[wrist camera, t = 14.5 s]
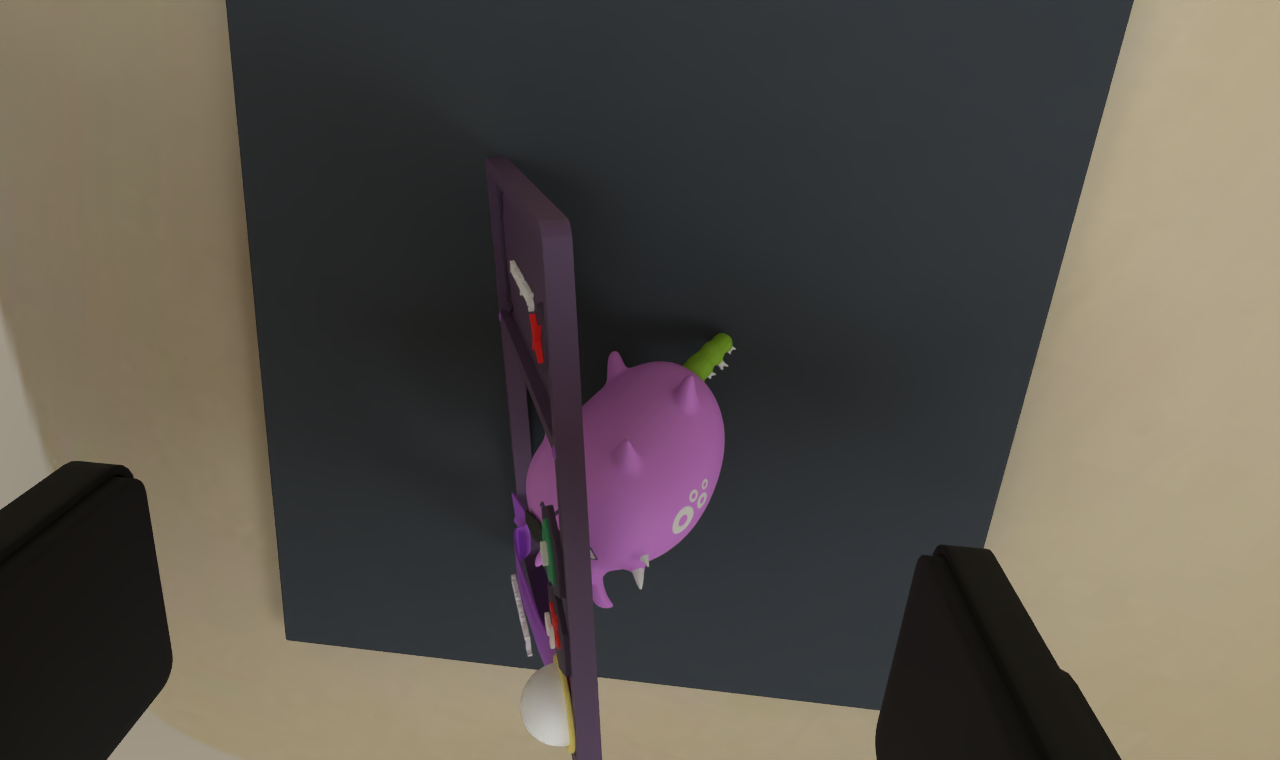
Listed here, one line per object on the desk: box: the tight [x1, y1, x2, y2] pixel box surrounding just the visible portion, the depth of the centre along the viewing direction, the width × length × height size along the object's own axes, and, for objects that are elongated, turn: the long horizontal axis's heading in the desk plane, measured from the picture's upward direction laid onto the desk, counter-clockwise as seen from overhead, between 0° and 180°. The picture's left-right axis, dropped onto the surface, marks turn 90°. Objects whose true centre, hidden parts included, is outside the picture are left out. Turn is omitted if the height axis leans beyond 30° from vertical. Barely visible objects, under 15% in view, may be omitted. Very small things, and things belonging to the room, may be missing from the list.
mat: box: [226, 0, 1134, 710], centre depth 18 cm, size 16×16×1 cm
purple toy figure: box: [486, 156, 736, 760], centre depth 15 cm, size 7×5×9 cm
